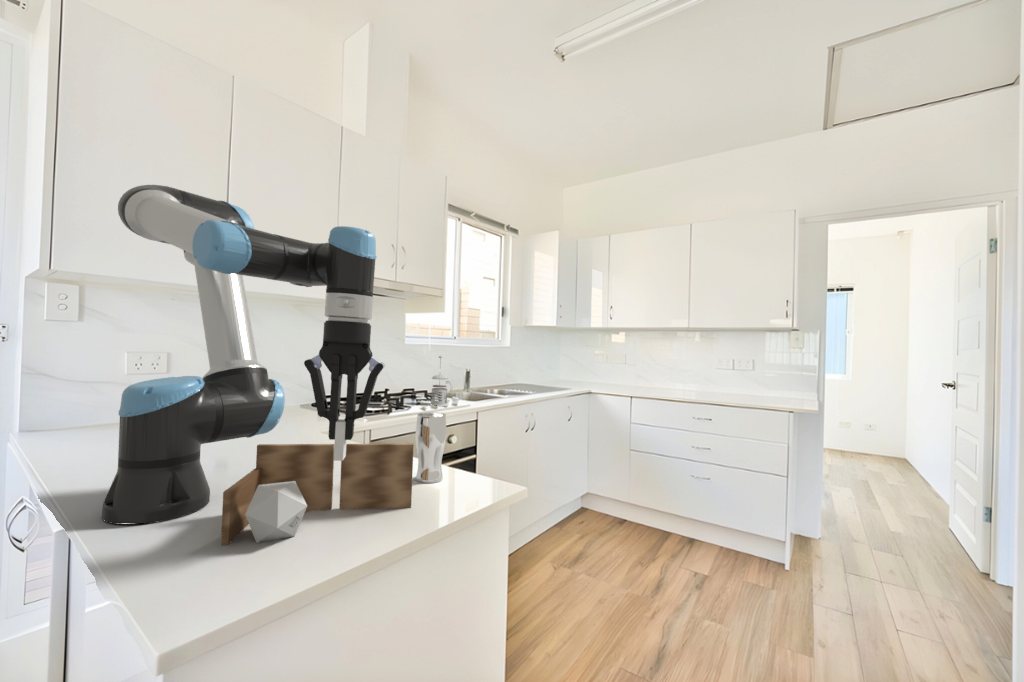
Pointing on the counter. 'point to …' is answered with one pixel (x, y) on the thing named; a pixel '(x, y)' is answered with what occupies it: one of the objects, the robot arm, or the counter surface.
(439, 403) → the french press
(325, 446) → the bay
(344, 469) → the panel
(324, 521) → the counter surface
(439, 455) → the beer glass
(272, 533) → the die
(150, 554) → the counter surface
